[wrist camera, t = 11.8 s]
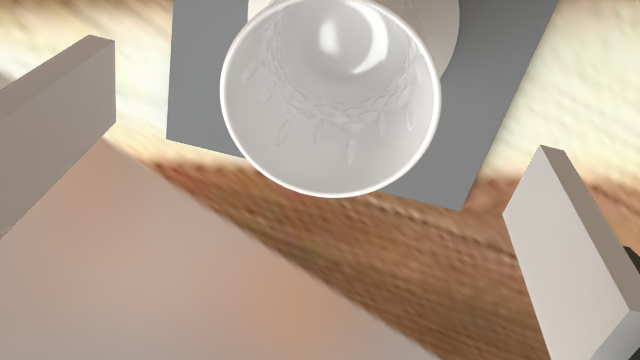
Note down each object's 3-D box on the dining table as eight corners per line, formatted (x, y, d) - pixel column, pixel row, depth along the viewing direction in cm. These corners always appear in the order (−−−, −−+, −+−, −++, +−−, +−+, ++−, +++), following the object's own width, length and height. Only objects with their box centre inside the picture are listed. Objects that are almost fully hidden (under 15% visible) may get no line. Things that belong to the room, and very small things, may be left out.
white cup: (243, 33, 27) (178, 111, 19) (339, -94, 23) (313, -67, 15) (352, 124, 29) (338, 231, 21) (456, 22, 25) (490, 101, 17)
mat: (170, 133, 32) (165, 140, 31) (193, -247, 22) (185, -251, 21) (458, 204, 32) (460, 213, 32) (614, -136, 22) (623, -136, 21)
